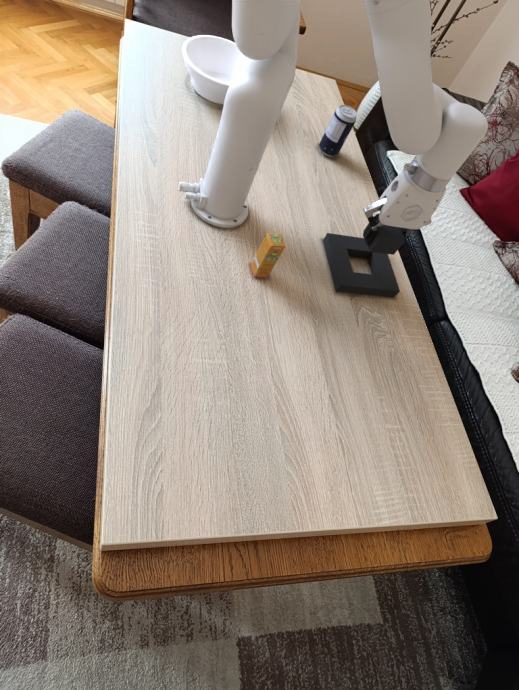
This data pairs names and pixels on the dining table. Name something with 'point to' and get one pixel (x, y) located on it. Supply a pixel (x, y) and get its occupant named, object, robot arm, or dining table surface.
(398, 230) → the black square block
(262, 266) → the supplement box
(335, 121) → the beverage can
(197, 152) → the dining table surface
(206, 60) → the bowl
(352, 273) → the socket pad
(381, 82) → the robot arm
